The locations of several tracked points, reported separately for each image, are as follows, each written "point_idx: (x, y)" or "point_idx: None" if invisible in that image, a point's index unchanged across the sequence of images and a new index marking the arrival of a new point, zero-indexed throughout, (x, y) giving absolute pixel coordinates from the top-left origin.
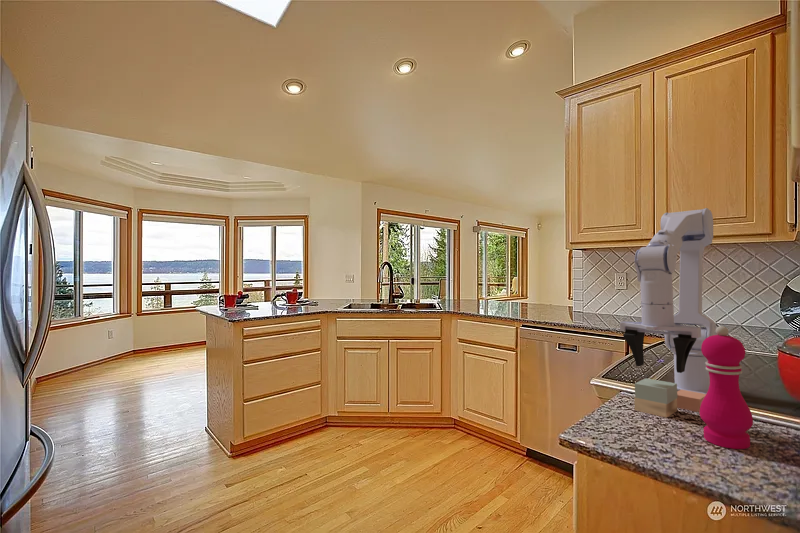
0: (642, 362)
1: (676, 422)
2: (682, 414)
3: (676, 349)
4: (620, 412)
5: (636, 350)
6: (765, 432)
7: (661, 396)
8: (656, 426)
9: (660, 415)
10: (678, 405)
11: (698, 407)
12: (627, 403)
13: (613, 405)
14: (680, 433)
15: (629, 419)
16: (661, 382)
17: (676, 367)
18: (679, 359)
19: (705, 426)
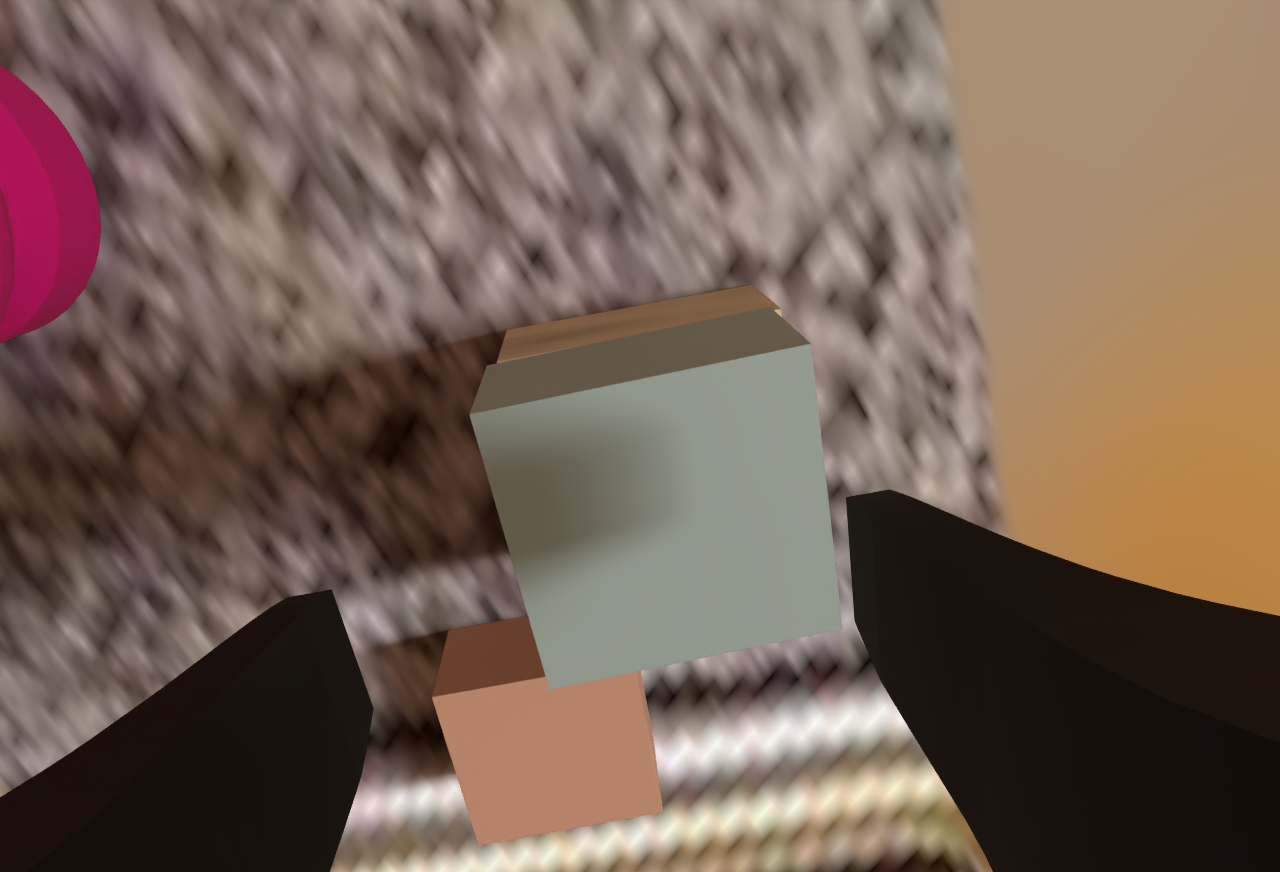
0: (866, 616)
1: (399, 289)
2: (489, 499)
3: (43, 840)
4: (793, 116)
5: (987, 595)
6: (7, 604)
7: (528, 373)
8: (414, 42)
9: (550, 323)
10: None
11: (454, 651)
12: (876, 391)
13: (926, 242)
14: (213, 55)
15: (643, 3)
16: (657, 608)
17: (297, 616)
18: (160, 706)
19: (28, 170)
